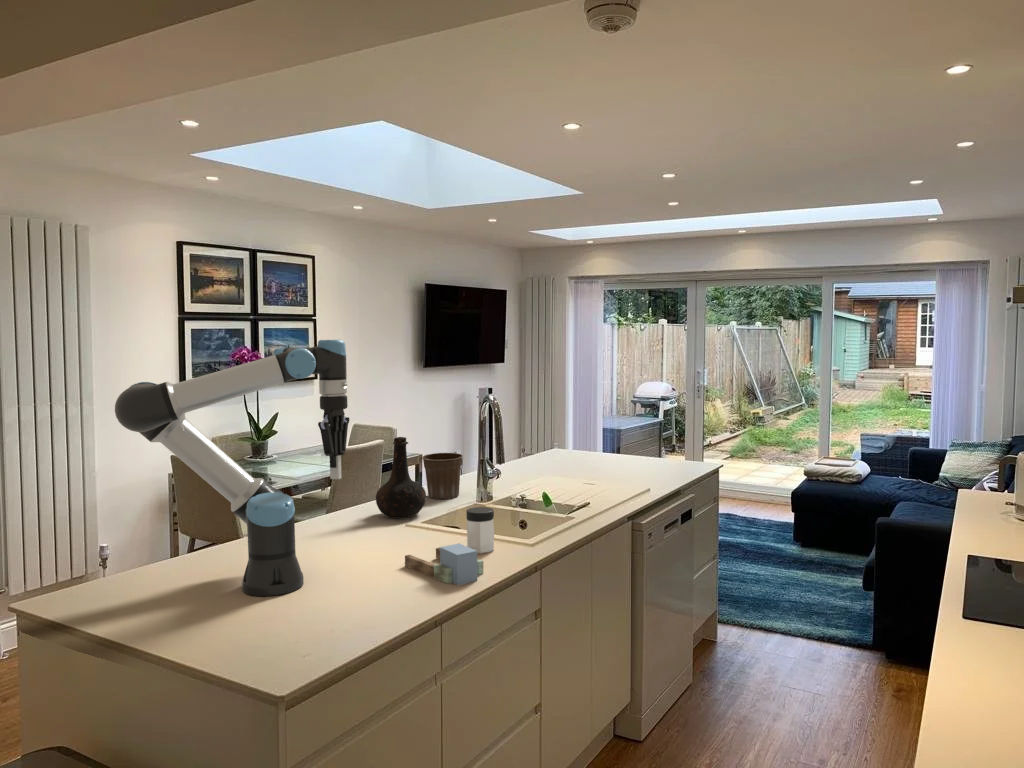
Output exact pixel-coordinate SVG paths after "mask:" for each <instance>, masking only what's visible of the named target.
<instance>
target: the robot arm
mask: <svg viewBox="0 0 1024 768" xmlns="http://www.w3.org/2000/svg"><path fill="white" fill-rule="evenodd" d="M346 350H347V349H346V343H345V341H344V340H342V339H319V340H318V342H317V346H313V347H310V346H309V347H296V346H295V347H287V346H285V347H276V348H274V350H273V353H272V355H269V356H266V357H263V358H259V359H256V360H253V361H249V362H245V363H242V364H238V365H235V366H231V367H228V368H225V369H221V370H218V371H214V372H211V373H208V374H207V373H206V374H204V375H200V376H198V377H193V378H190V379H186V380H183V381H179V382H177V383H171V382H169V381H165V382H162V383H154V382H151V381H141V382H136V383H134V384H131V385H130V386H129V387H128V388H126V389H125V390H124V391H122V392H121V393H120V394H119V396H118V397H117V399H116V401H115V403H114V413H115V417H116V419H117V421H118V423H119V424H120V425H121V426H122V427H124V428H125V429H127V430H129V431H131V432H134V433H139V434H140V435H141V436H143V437H144V438H145V439H146V440H147V441H148V442H150V443H161V444H162V445H163V446H164V447H165V448H166V449H168V451H170V452H171V453H172V454H174V456H176V457H177V458H178V459H179V460H180V461H181V462H183V463H184V464H185V465H186V466H187V467H188V468H190V469H191V470H192V471H193V472H195V474H197V475H198V476H199V477H200V478H201V479H203V480H204V481H205V482H207V484H209V485H210V486H211V487H212V488H213V489H214V490H215V491H216V492H218V493H219V494H220V495H221V496H223V497H224V498H225V499H226V500H227V501H228V502H230V511H231V512H232V513H233V514H235V516H236V517H238V518H239V519H240V520H241V521H243V522H244V523H245V524H246V531H247V551H248V552H247V553H248V554H247V555H248V560H247V563H246V567H245V571H244V575H243V578H242V580H241V585H242V586H241V587H242V588H241V589H242V592H243V593H244V594H246V595H249V596H255V597H273V596H279V595H284V594H289V593H292V592H295V591H297V590H299V589H300V588H302V587H303V586H304V584H305V583H304V580H305V579H304V574H303V571H302V570H301V569H302V568H301V566H300V563H299V561H298V558H297V554H296V535H295V534H296V530H295V529H296V528H295V527H296V526H295V512H296V508H295V504H294V499H293V498H292V496H290V495H289V494H287V493H283V492H282V491H281V490H280V489H279V490H278V489H276V488H274V487H273V486H272V485H271V484H270V483H269V482H267V480H266V479H264V478H262V477H257V478H255V477H253V476H252V475H250V474H249V473H248V471H246V470H245V469H244V468H243V467H242V466H241V465H240V464H239V463H237V462H236V461H235V460H233V459H232V458H231V457H230V456H229V455H228V454H227V453H226V452H224V451H223V450H222V449H221V448H220V447H219V446H218V445H217V444H216V443H215V442H213V441H212V440H211V439H209V437H208V436H206V434H204V433H203V432H202V431H201V430H199V429H198V428H197V427H196V426H195V425H194V424H192V422H190V421H189V420H188V419H187V418H186V414H187V413H191V412H192V411H195V410H198V409H203V408H205V407H210V406H213V405H215V404H218V403H221V402H225V401H228V400H232V399H235V398H238V397H242V396H244V395H248V394H251V393H254V392H255V393H256V392H258V391H260V390H261V391H262V390H265V389H268V388H271V387H274V386H278V385H282V384H284V383H288V382H291V381H295V380H298V379H301V380H302V379H306V378H308V377H309V376H311V375H318V388H319V389H318V390H319V391H318V393H319V394H320V396H319V409H320V410H323V415H322V418H323V420H322V421H318V423H317V426H318V428H319V431H320V435H321V442H322V447H323V454H324V455H325V456H326V457H329V473H330V474H329V475H330V476H329V479H330V480H341V479H342V476H343V475H342V456H344V455H345V454H346V448H347V442H348V441H347V440H348V438H347V437H348V429H349V428H348V427H349V423H350V421H351V420H350V417H348V416H347V417H346V416H345V411H344V410H346V409H347V408H348V395H346V394H347V393H348V389H347V388H348V382H347V378H348V377H347V351H346Z"/></svg>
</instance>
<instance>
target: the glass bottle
mask: <svg viewBox="0 0 1024 768" xmlns="http://www.w3.org/2000/svg"><path fill="white" fill-rule="evenodd" d="M392 444H393V455H392V456H393V457H392V467H391V468H392V469H391V473H390V477H389V479H388V481H387V482H385V483H384V484H382V485H381V486H380V487H379V488H378V490H377V491H376V495H375V503H376V506H377V508H378V510H379V511H380V513H382V514H383V516H386V517H388V518H392V519H404V518H405V519H406V518H411V517H413V516H416V515H418V514H419V512H420V511H422V509H423V508H424V506H425V504H426V501H427V494H426V493H427V492H426V490H425V488H424V487H423V486H422V484H420V483H419V482H417V481H414V480H412V479H411V477H410V473H409V467H408V456H407V455H408V454H407V445H409V442H408V441H407V437H404V436H398V437H394V438H393V442H392Z"/></svg>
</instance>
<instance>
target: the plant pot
mask: <svg viewBox="0 0 1024 768" xmlns="http://www.w3.org/2000/svg"><path fill="white" fill-rule="evenodd" d="M463 458H464V455H463V454H462V453H457V452H456V453H455V452H435V453H429V454H425V455H424V454H423V456H421V459H422V460H423V468H424V469H425V470H424V471H425V479H426V487H427V488H426V489H427V496H428V498H429V499H432V498H433V499H434V500H441V499H445V500H449V499H451V498H452V499H455V498H457V497H459V496H460V485H461V484H460V482H461V467H462V466H463V465H462V462H463ZM433 499H432V500H433Z"/></svg>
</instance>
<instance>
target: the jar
mask: <svg viewBox="0 0 1024 768" xmlns="http://www.w3.org/2000/svg"><path fill="white" fill-rule="evenodd" d="M494 511H495V509H494V508H491V507H487V506H476V507H469V508H467V509H466V511H465V512H466V513H465V515H466V541H467V542H466V546H467V547H469V548H471V549H474V550H476V551H477V554H480V555H481V554H484V553H485V554H486V553H490V552H494V551H495V547H494V546H495V543H494V542H495V526H494V516H495V513H494Z"/></svg>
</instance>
